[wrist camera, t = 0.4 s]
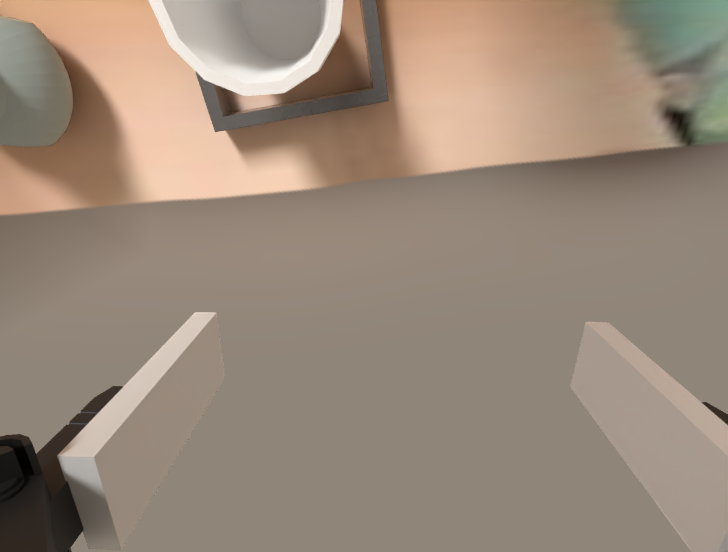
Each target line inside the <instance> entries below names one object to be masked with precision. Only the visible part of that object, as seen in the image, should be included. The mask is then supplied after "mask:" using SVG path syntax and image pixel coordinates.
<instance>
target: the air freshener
mask: <svg viewBox="0 0 728 552" xmlns="http://www.w3.org/2000/svg"><path fill="white" fill-rule="evenodd" d="M72 110H73V94H72V87H71V83H70V79H69V76H68V73H67V70H66V68H65V66H64V64H63V61H62V59H61V58H60V56H59V55H58V53H57V51H56V50H55V48H54V47H53V45H52V44H51V43H50V41H49V40H48V39H47V38H46V36H45V35H44V34H43V33H42V32H41V31H40V30H39V29H38V28H37V27H36V26H35V25H34V24H33V23H31V22H27V21H23V20H18V19H14V18H9V17H4V16H0V145H6V146H20V147H42V146H49V145H52V144H54V143H55V142H56V141H57V140H58V139H59V138H60V137H61V136H62V134H63V133H64V132H65V131H66V129H67V126H68V124H69V122H70V119H71V115H72Z"/></svg>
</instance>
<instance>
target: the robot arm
mask: <svg viewBox="0 0 728 552" xmlns="http://www.w3.org/2000/svg"><path fill="white" fill-rule="evenodd" d="M224 378H225V374H224V366H223V358H222V351H221V343H220V336H219V328H218V321H217V314H216V313H211V312H195V313H194V314H193V315H192V316H191V317H190V318H189V319H188V321H186V322H185V323H184V325H183V326H182V327H181V328H180V329H179V330H178V331H177V332H176V333H175V334H174V335H173V336H172V337H171V338H170V339H169V340H168V341H167V342H166V343H165V344H164V346H162V347H161V349H159V350H158V352H157V353H156V354H155V355H154V356H153V357H152V358H151V359H150V360H149V361H148V362H147V363H146V364H145V365H144V366H143V367H142V368H141V369H140V370H139V371H138V372H137V373H136V374H135V375H134V376H133V377H132V379H131V380H130V381H129V382H128V383H127V384H126V385H125V386H124V387H123V386H113V387H111V388H110V389H108V390H106V391H105V392H103V393H101V394H100V395H98V396H97V397H95V398H94V399H93V400H92V401H91V402H90V403H88V404H87V405H86V406H85V407H84V409H82V410H81V413H80V414H77V415H76V416H75V417H74V418H73V419H72V420H71V421H70V423H69V425H66V426H65V427H64V428H63V429H62V430H61V431H60V432H59V433H58V434H56V435H55V436H54V437H53V438H52V439H51V441H49V442H48V443H47V444H46V445H45V446H44V447H43V448H42V449H41V450H40V451H39V452H38V453H37V454H36V453H35V450H34V447H33V445H32V442H31V441H30V439H29V437H27V436H23V435H21V434H17V435H5V436H1V437H0V552H72V551H71V549H70V548H71V546H72V545H73V543H74V542H75V541H76V539H77V538H78V536H79V535H80V534H81V532H82V531H83V533H84V537H85V539H86V542H87V545H88V548H89V549H106V550H122V548H123V547H124V545H125V544H126V542H127V540H128V539H129V537H130V535H131V534H132V532H133V530H134V529H135V527H136V525H137V524H138V522H139V520H140V518H141V517H142V515H143V514H144V512H145V510H146V509H147V507H148V505H149V504H150V501H151V500H152V499H153V497H154V495H155V493H156V492H157V490H158V489H159V487H160V485H161V484H162V482H163V480H164V478H165V477H166V475H167V473H168V472H169V470H170V468H171V467H172V465H173V463H174V462H175V460H176V458H177V457H178V455H179V453H180V452H181V450H182V448H183V447H184V445H185V443H186V442H187V440H188V438H189V437H190V435H191V433H192V432H193V430H194V428H195V426H196V425H197V423H198V422H199V420H200V418H201V417H202V415H203V413H204V412H205V410H206V408H207V407H208V405H209V403H210V401H211V400H212V398H213V397H214V395H215V393H216V392H217V390H218V388H219V387H220V385H221V383H222V381H223V380H224ZM571 389H572V390H573V391H574V393H575V394H576V396H577V397H578V398H579V400H580V401H581V402H582V404H583V405H584V406H585V408H586V409H587V410H588V412H589V413H590V414H591V416H592V417H593V419H594V420H595V421H596V423H597V424H598V425H599V427H600V428H601V430H602V431H603V432H604V434H605V435H606V436H607V438H608V439H609V440H610V442H611V443H612V444H613V446H614V447H615V449H616V450H617V451H618V453H619V454H620V455H621V457H622V458H623V459H624V461H625V462H626V463H627V465H628V466H629V468H630V469H631V470H632V472H633V473H634V474H635V476H636V477H637V478H638V480H639V481H640V483H641V484H642V485H643V487H644V488H645V489H646V491H647V492H648V493H649V494H650V496H651V497H652V499H653V500H654V502H655V503H656V504H657V506H658V507H659V508H660V510H661V511H662V512H663V514H664V515H665V516H666V518H667V519H668V520H669V522H670V523H671V525H672V526H673V527H674V529H675V530H676V531H677V533H678V534H679V536H680V537H681V538H682V539H683V541H684V542H685V544H686V545H687V546H688V548H689V549H690V550H691V552H728V414H726V413H724V412H723V411H721V410H719V409H717V408H715V407H714V406H712V405H710V404H708V403H707V402H700V401H699V400H698V399H697V398H695V397H694V396H693V395H692V394H691V393H690V392H688V391H687V390H686V389H685V388H684V387H683V386H681V385H680V384H679V383H678V382H677V381H676V380H674V379H673V378H672V377H671V376H670V375H669V374H667V373H666V372H665V371H664V370H663V369H662V368H660V367H659V366H658V365H657V364H656V363H655V362H653V361H652V360H651V359H650V358H648V356H646V355H645V354H644V353H643V352H642V351H641V350H639V349H638V348H637V347H636V346H635V345H634V344H632V343H631V342H630V341H629V340H628V339H627V338H625V337H624V336H623V335H622V334H621V333H620V332H619V331H617V330H616V329H615V328H614V327H613V326H611V325H610V324H609V323H608V322H586V323H585V328H584V332H583V336H582V340H581V344H580V349H579V353H578V357H577V361H576V365H575V370H574V374H573V378H572V382H571Z"/></svg>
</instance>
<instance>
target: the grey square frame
mask: <svg viewBox="0 0 728 552" xmlns="http://www.w3.org/2000/svg"><path fill="white" fill-rule="evenodd" d="M360 5H361V12H362V20H363V27H364V34H365V42H366V49H367V56H368V63H369V71H370V78H371V85H372V88H366V89H361V90H355V91H350V92H344V93H339V94H333V95H328V96H322V97H317V98H311V99H306V100H300V101H295V102H289V103H284V104H278V105H273V106H267V107H262V108H256V109H251V110H245V111H240V112H234V113H231V111H230V108H229V104H228V101H227V98H226V94H225V91H224V88H223V87H221V86H218V85H216V84H213V83H211V82H208V81H206V80H204V79H203V78H202V77H201V76H200V75H199V74H198V73H197V72H196V71H195V72H196V75H197V78H198V81H199V84H200V87H201V90H202V93H203V96H204V99H205V102H206V105H207V108H208V112H209V115H210V118H211V121H212V124H213V127H214V130H215V132H219V131H224V130H230V129H235V128H241V127H246V126H252V125H257V124H263V123H269V122H274V121H280V120H285V119H291V118H296V117H302V116H307V115H313V114H319V113H324V112H330V111H335V110H341V109H346V108H352V107H357V106H363V105H368V104H374V103H380V102H385V101H388V94H387V86H386V78H385V69H384V61H383V53H382V45H381V37H380V28H379V20H378V12H377V4H376V0H360Z"/></svg>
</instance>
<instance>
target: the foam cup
mask: <svg viewBox="0 0 728 552" xmlns="http://www.w3.org/2000/svg"><path fill="white" fill-rule="evenodd" d="M149 2H150V4H151V7H152V9H153V11H154V13H155V15H156V17H157V19H158V22H159V24H160V26H161V28H162V30H163V32H164V34H165V37H166V39H167V41H168V43H169V45H170V46H171V47H172V48H173V49H174V50H175V51H176V52H177V53H178V54H179V55H180V56H181V57H182V58H183V59H184V60H185V61H186V62H187V63H188V64H189V65H190V66H191V67H192V68H193V69H194V70H195V71H196V72H197V73H198V74H199V75H200V76H201V77H202V78H203V79H204V80H206V81H208V82H211V83H213V84H216V85H218V86H221V87H223V88H226V89H228V90H230V91H233V92H235V93H238V94H240V95H243V96H254V95H267V94H280V93H285V92H287V91H289V90H291V89H292V88H294V87H295V86H297V85H298V84H300V83H301V82H303V81H304V80H306V79H307V78H309V77H310V76H312V75H313V74H315V73H316V72H318V71H320V69H321V68H322V66H323V64H324V62H325V61H326V59H327V57H328V55H329V53H330V52H331V50H332V48H333V46H334V45H335V43H336V41H337V39H338V38H339V36H340V31H341V22H342V13H343V4H344V0H149Z"/></svg>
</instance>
